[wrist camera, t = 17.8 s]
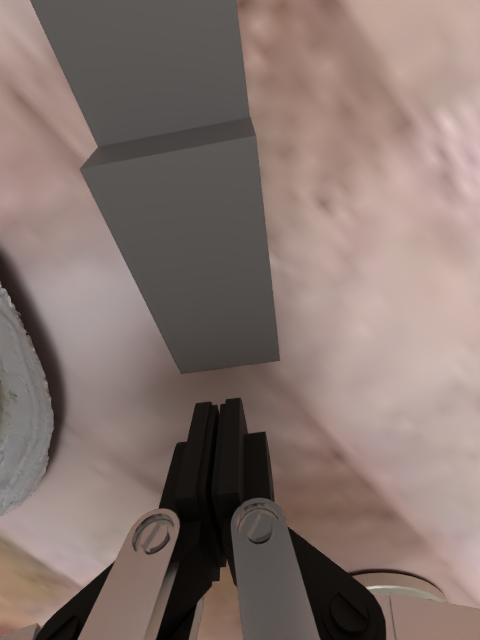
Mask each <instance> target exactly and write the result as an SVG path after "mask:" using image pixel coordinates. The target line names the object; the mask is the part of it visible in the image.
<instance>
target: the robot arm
mask: <svg viewBox="0 0 480 640" xmlns="http://www.w3.org/2000/svg"><path fill="white" fill-rule="evenodd" d="M227 560H228V564H229V567H230V571H231V575H232V578H233V582H234V584H235V585H236V587H237V588H238V597H239V606H240V614H241V623H242V632H243V640H480V609H478V608H472V607H467V606H461V605H456V604H450V603H449V602H448V601H447V599H446V597H445V595H444V594H443V593H442V592H441V591H439V590H438V589H437V588H436V587H434V586H433V585H431V584H429V583H428V582H426V581H423V580H421V579H418V578H415V577H412V576H408V575H403V574H397V573H366V574H360V575H354V576H351V575H349V574H348V573H347V572H346V571H344V570H343V569H342V568H340V567H339V566H338V565H337V564H335V563H334V562H333V561H331V560H330V559H329V558H328V557H326V556H325V555H324V554H322V553H321V552H320V551H319V550H317V549H316V548H315V547H313V546H312V545H311V544H309V543H308V542H307V541H306V540H304V539H303V538H302V537H300V536H299V535H298V534H297V533H295V532H294V531H293V530H291V529H290V528H289V527H288V526H287V524H286V520H285V517H284V514H283V512H282V510H281V508H280V507H279V506H278V505H277V504H276V503H275V500H274V490H273V480H272V471H271V463H270V455H269V449H268V443H267V437H266V432H258V433H250V434H248V430H247V425H246V420H245V415H244V410H243V405H242V400H241V398H233V399H226V403H225V404H221V406H220V414H219V410H218V406H217V405H212V402H203V403H196V405H195V409H194V413H193V417H192V422H191V426H190V430H189V435H188V439H187V441H186V442H178V443H177V444H176V447H175V450H174V454H173V457H172V461H171V465H170V468H169V472H168V476H167V479H166V483H165V487H164V490H163V494H162V498H161V501H160V505H159V509H155V510H153V511H150V512H148V513H146V514H145V515H143V516H142V517H141V518H140V519H139V520H138V521H137V522H136V523H135V524H134V525H133V527H132V528H131V530H130V531H129V533H128V535H127V538H126V540H125V542H124V544H123V546H122V548H121V550H120V552H119V554H118V556H117V558H116V560H115V561H114V562H113V563H112V564H111V565H110V566H109V567H108V568H106V569H105V570H104V571H103V572H102V573H101V574H100V575H98V576H97V577H96V578H95V579H94V580H93V581H92V582H90V583H89V584H88V585H87V586H86V587H85V588H84V589H82V590H81V591H80V592H79V593H78V594H77V595H76V596H74V597H73V598H72V599H71V600H70V601H69V602H68V603H66V604H65V605H64V606H63V607H62V608H61V609H60V610H58V611H57V612H56V613H55V614H54V615H53V616H52V617H51V618H50V619H49V620H48V621H47V622H46V623H45V625H44V626H41V627H40V626H39V625H38V623H36V624H33V625H30V626H27V627H25V628H22V629H19V630H16V631H14V632H11V633H8V634H5V635H3V636H0V640H196V639H197V635H198V630H199V625H200V621H201V616H202V612H203V607H204V594H205V593H206V592H207V591H208V590H209V588H210V587H211V586H212V581H219V579H220V567H226V561H227Z"/></svg>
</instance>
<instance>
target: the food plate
mask: <svg viewBox="0 0 480 640" xmlns="http://www.w3.org/2000/svg"><path fill="white" fill-rule="evenodd" d="M0 284H1V282H0ZM18 314H19V315H20V316H21V314H20V313H19V312H17V311H16V310H15V305H14V304H12V303H11V298H10V296H9V295H8V292H7V291H6V289H4V288H2V285H0V516H2V515H4V514H6V513H8V512H9V511H11V510H12V509H14V508H16V507H17V506H20V505H21V504H22V503H23V502H24V501H25V500H26V499H27V498H29V497H30V496H31V494H32V493H33V492H34V491H35V490H36V488H37V487H38V485H39V484H40V481H41V479H42V477H43V476H44V474H45V473H46V469H45V468H46V466H47V465H48V463H47V462H48V459H50V458H49V457H48V453H47V452H48V449H49V447H50V446H49V445H50V441H51V440H50V439H51V438H52V436H51V435H52V433H53V430H54V427H53V423H54V421H53V419H54V418H53V416H54V415H53V414H54V412H53V410H52V408H51V405H52V403H51V397H50V395H49V390H48V383H47V382H46V379H44V378H47V377H46V375H45V372H44V369H42V368H43V365H42V362H40V360H39V359H38V356H37V354H36V351H35V349H34V347H33V345H34V344H33V343H32V340H31V337H30V332H29V336H28V335H26V332H27V331H26V330H24V327H23V325H24V324H23V323H22V322H21V319H20V318H19V317H18Z"/></svg>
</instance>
